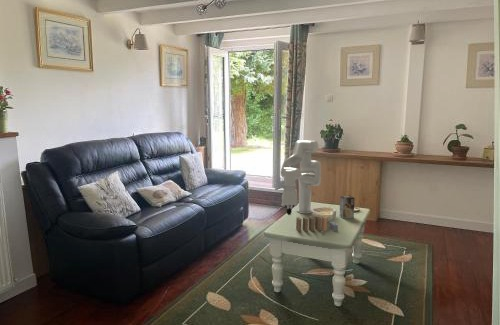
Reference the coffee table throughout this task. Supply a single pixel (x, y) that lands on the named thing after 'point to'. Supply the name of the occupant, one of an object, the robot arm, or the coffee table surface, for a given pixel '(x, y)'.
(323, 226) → the domino
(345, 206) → the coffee box
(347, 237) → the coffee table surface
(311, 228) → the domino
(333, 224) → the stop block
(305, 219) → the domino
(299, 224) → the domino
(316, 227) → the domino
